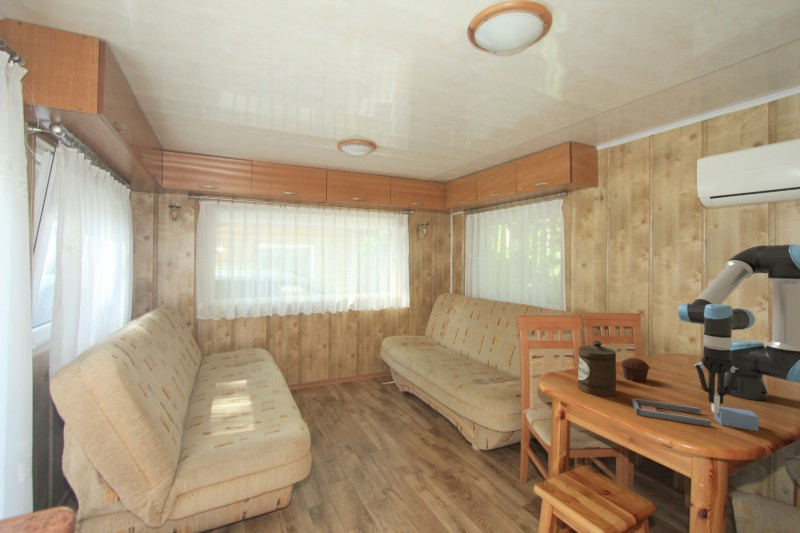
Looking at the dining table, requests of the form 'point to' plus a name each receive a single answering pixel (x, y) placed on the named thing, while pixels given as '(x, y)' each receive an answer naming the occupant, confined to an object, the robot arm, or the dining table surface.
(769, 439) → the dining table surface
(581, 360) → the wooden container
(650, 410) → the grey flat frame
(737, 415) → the slate block
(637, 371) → the muffin
